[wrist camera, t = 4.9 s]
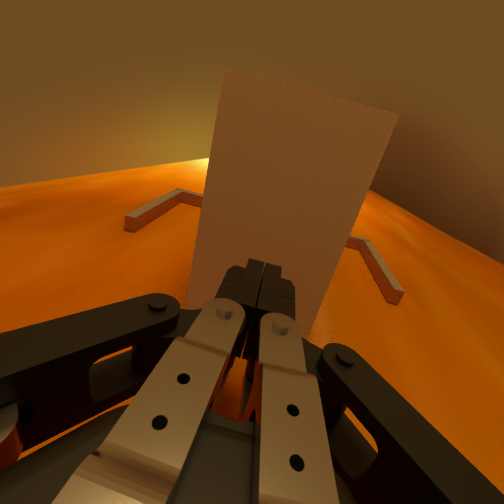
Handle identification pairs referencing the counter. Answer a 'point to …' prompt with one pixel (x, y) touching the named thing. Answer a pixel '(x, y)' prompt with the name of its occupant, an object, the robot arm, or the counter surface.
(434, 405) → the counter surface
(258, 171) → the carton
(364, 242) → the metal staple
